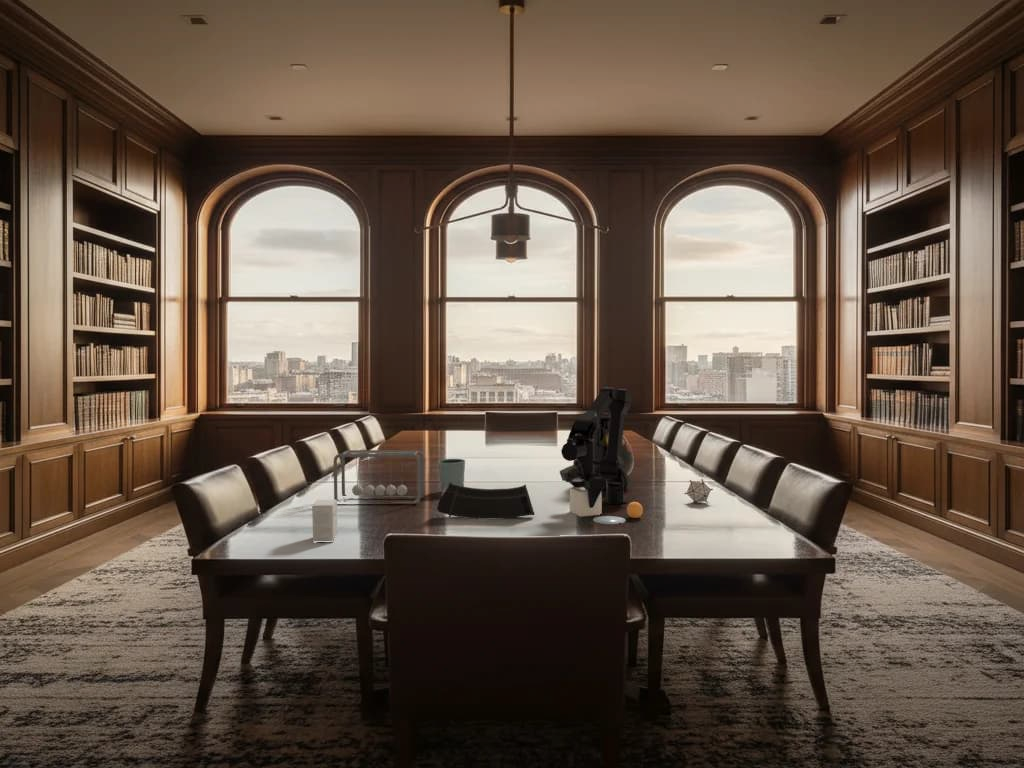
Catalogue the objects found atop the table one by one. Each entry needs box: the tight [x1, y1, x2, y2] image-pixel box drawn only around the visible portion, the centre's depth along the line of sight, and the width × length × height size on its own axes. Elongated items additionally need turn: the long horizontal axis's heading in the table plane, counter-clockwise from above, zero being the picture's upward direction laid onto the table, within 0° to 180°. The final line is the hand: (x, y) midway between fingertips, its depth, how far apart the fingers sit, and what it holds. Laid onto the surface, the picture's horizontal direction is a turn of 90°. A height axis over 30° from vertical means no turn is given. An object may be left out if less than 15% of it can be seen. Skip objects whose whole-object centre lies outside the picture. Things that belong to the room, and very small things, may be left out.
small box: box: [311, 499, 338, 542], centre depth 195 cm, size 8×6×10 cm
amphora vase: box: [594, 413, 635, 490], centre depth 273 cm, size 22×22×28 cm
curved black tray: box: [436, 482, 535, 519], centre depth 221 cm, size 17×3×30 cm
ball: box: [626, 501, 644, 519], centre depth 219 cm, size 5×5×5 cm
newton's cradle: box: [333, 449, 426, 504], centre depth 246 cm, size 30×10×18 cm, turn 88°
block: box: [569, 487, 603, 518], centre depth 226 cm, size 8×8×8 cm
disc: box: [592, 515, 627, 525], centre depth 216 cm, size 10×10×1 cm
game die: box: [683, 478, 714, 505], centre depth 241 cm, size 9×8×10 cm
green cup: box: [437, 458, 466, 493], centre depth 263 cm, size 10×10×12 cm
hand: (585, 505), depth 226 cm, fingers closed on block, 8 cm apart
